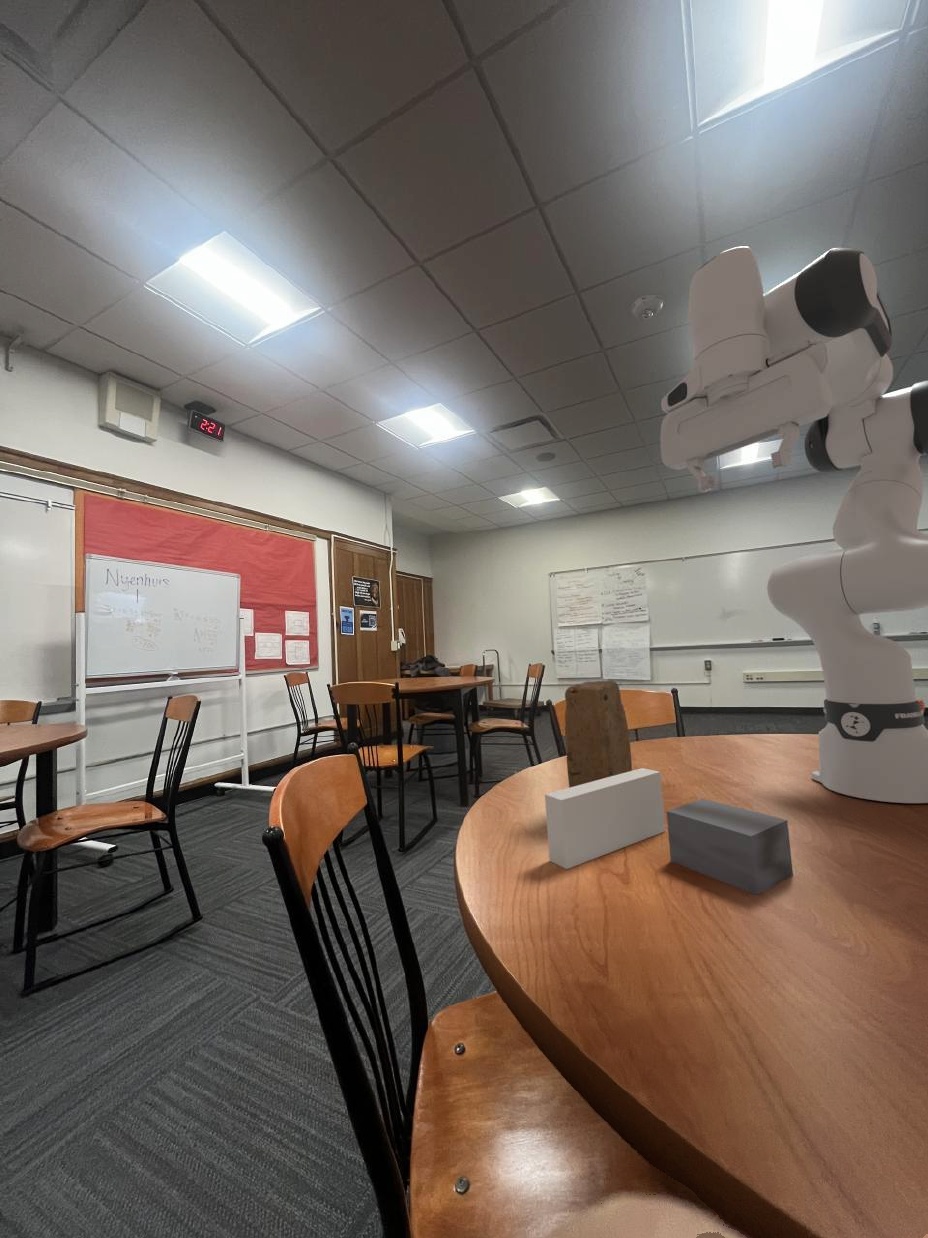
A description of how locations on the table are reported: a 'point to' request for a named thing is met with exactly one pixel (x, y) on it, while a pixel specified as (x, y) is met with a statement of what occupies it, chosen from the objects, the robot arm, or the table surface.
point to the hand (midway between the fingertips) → (742, 479)
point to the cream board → (603, 816)
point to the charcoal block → (730, 844)
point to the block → (595, 732)
